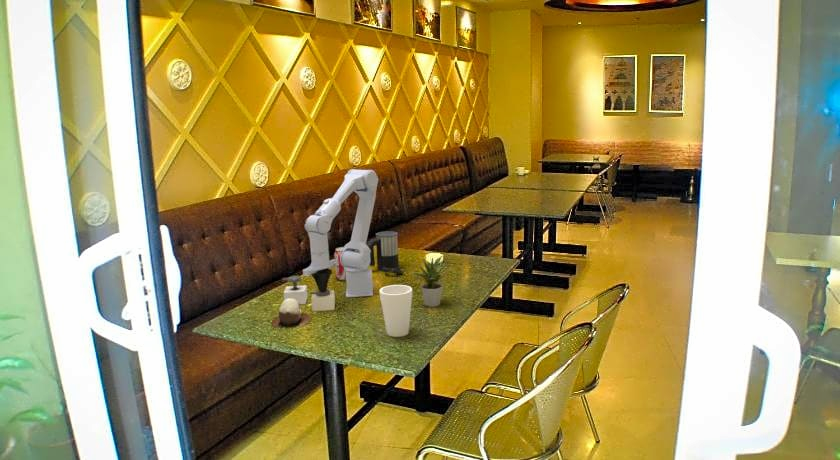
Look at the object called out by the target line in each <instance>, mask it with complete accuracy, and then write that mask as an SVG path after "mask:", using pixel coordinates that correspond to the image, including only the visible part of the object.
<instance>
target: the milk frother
mask: <svg viewBox="0 0 840 460" xmlns="http://www.w3.org/2000/svg"><path fill="white" fill-rule="evenodd" d="M375 235H376V237H374V238H371V239H370V240H369V241H368V242H367V243H366V245H367V246H368V247H369V249H370V250H371V252H370V259H371V261H370V265H369V267H375V265H376V266H377V267H376V269H377V270H378V271H381V272H392V273H394V274H396V275H400V274H401V273H402V274H403V273H404V271H403V269H401V267H400V265H399V243H398V235H399V233H398V232H397V231H392V230H391V231H387V230H386V231H379V232H377V233H375ZM375 246H376V259H375V251H374V250H375V249H374V248H375ZM375 260H376V262H375Z"/></svg>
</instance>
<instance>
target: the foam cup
mask: <svg viewBox="0 0 840 460" xmlns="http://www.w3.org/2000/svg"><path fill="white" fill-rule="evenodd" d="M412 299H413V287H411V286H409V285H404V284H392V285H386V286H383V287H381V288H380V289H379V300H380V303H381V308H382V314H383V320H384V324H385V330H386V331H385V332H386V334H387V335H388V336H389V337H393V338H394V337H396V338H397V337H398V338H399V337H404V336H407V335H408V334H409V332H410V320H411V312H412V311H411V310H412Z"/></svg>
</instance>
